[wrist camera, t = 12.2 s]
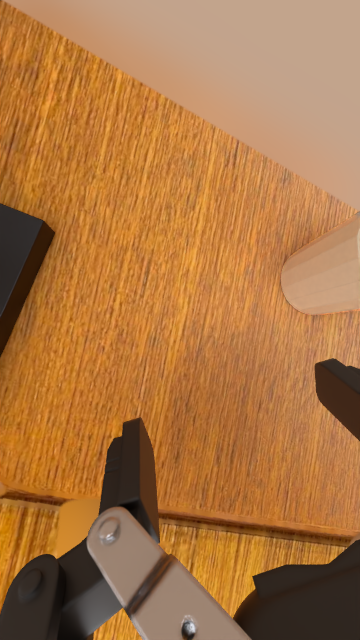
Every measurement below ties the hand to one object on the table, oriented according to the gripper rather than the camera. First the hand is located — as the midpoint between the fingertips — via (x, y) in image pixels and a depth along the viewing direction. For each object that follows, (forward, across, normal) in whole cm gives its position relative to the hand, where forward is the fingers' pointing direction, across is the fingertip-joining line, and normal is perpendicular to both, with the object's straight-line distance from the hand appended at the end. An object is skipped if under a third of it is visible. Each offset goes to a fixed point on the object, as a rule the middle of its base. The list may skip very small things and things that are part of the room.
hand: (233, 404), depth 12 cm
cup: (+14, +13, -1) cm, 19 cm away
